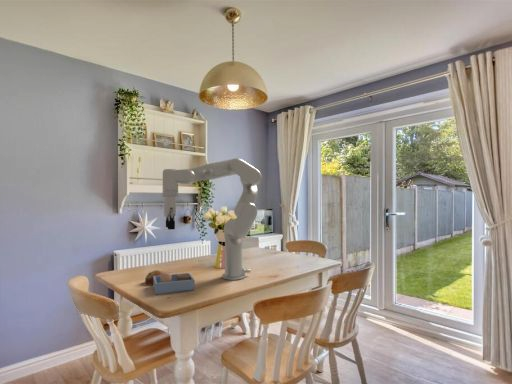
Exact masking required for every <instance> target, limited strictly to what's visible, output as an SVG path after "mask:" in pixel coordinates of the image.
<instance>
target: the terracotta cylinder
mask: <svg viewBox="0 0 512 384" xmlns="http://www.w3.org/2000/svg"><path fill="white" fill-rule="evenodd" d="M172 274H173V273H172V272H171V271H162V273H161V283H163V282H172Z"/></svg>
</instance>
